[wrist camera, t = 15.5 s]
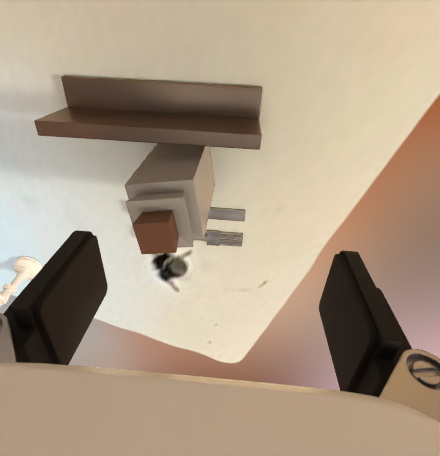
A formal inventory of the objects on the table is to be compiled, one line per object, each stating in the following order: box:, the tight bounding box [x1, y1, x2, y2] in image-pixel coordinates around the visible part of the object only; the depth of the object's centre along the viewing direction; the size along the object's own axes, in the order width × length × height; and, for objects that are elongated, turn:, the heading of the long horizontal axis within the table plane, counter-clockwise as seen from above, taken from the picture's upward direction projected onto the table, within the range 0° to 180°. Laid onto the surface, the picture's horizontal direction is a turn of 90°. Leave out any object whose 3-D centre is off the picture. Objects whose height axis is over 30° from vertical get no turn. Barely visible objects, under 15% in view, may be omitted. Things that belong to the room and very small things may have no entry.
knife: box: [208, 207, 245, 221], centre depth 45 cm, size 2×17×1 cm, turn 87°
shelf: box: [35, 76, 262, 150], centre depth 34 cm, size 5×24×8 cm, turn 87°
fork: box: [193, 230, 243, 246], centre depth 48 cm, size 3×16×1 cm, turn 88°
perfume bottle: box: [125, 143, 215, 254], centre depth 34 cm, size 7×7×18 cm
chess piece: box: [0, 256, 43, 307], centre depth 50 cm, size 5×5×10 cm
